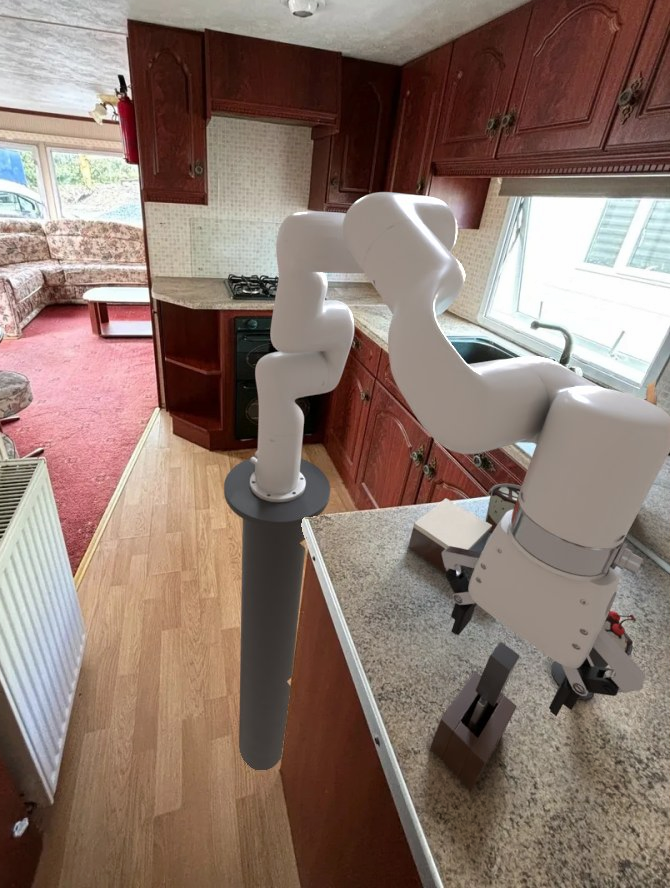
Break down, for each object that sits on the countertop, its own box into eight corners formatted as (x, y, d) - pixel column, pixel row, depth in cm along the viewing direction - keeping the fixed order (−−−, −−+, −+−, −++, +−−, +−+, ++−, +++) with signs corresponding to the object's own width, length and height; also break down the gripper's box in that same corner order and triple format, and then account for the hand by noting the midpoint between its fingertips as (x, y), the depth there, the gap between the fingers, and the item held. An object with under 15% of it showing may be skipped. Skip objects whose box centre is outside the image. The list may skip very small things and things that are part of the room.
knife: (450, 747, 47) (486, 660, 40) (466, 721, 49) (503, 635, 43) (466, 763, 45) (506, 677, 39) (482, 736, 48) (522, 650, 41)
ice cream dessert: (554, 550, 76) (573, 508, 72) (541, 566, 72) (560, 523, 68) (491, 513, 84) (504, 474, 80) (476, 525, 81) (489, 485, 77)
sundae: (605, 718, 51) (657, 640, 44) (544, 688, 53) (585, 611, 47) (598, 671, 56) (644, 596, 50) (543, 645, 59) (580, 571, 53)
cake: (408, 547, 74) (414, 522, 72) (439, 521, 81) (445, 498, 79) (454, 581, 68) (462, 555, 66) (483, 549, 75) (492, 525, 73)
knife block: (429, 748, 47) (440, 718, 44) (463, 699, 52) (474, 670, 49) (470, 792, 43) (485, 763, 41) (502, 735, 48) (517, 705, 46)
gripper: (703, 575, 31) (616, 708, 37) (481, 467, 42) (446, 584, 49) (690, 636, 26) (593, 776, 33) (444, 495, 37) (411, 621, 44)
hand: (505, 661), depth 41 cm, fingers open, 9 cm apart
